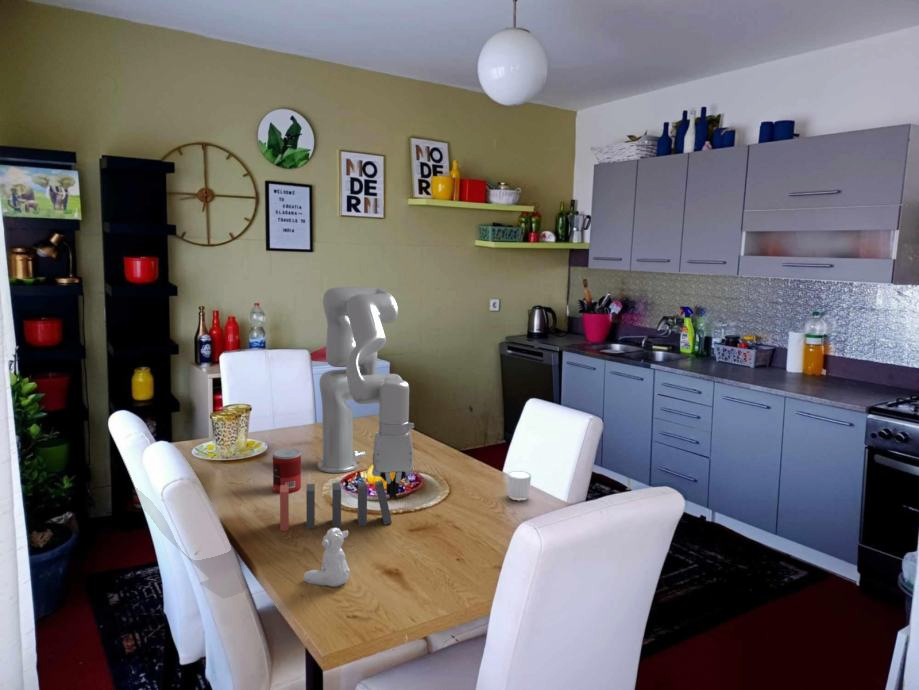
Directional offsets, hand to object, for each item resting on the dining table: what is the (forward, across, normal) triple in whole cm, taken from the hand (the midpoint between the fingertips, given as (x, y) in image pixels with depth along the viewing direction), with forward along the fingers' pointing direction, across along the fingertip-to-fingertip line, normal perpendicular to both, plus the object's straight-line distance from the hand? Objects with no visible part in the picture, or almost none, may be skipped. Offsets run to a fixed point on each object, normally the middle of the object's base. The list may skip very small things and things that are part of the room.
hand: (392, 496), depth 174 cm
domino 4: (+6, +1, 0) cm, 7 cm away
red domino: (+7, +27, 0) cm, 28 cm away
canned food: (+7, +27, -27) cm, 39 cm away
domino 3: (+7, +8, 0) cm, 10 cm away
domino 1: (+7, +21, 0) cm, 22 cm away
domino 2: (+7, +14, 0) cm, 16 cm away
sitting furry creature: (+7, +16, +29) cm, 34 cm away
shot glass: (+7, -38, -11) cm, 40 cm away
